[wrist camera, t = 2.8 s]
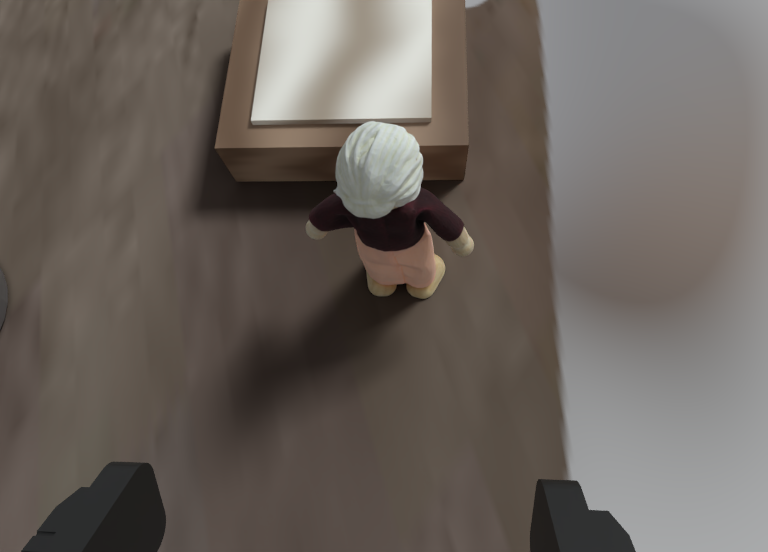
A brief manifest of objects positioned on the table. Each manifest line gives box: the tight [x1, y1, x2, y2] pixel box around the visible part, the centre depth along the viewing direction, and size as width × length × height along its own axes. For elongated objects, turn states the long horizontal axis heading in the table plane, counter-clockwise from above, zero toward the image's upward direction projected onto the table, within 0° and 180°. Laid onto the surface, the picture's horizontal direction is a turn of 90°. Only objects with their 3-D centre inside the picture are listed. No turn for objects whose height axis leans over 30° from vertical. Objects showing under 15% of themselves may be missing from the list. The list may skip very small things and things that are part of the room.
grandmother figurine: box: [306, 121, 474, 299], centre depth 24 cm, size 8×4×13 cm, turn 94°
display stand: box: [215, 0, 469, 182], centre depth 32 cm, size 14×12×4 cm
